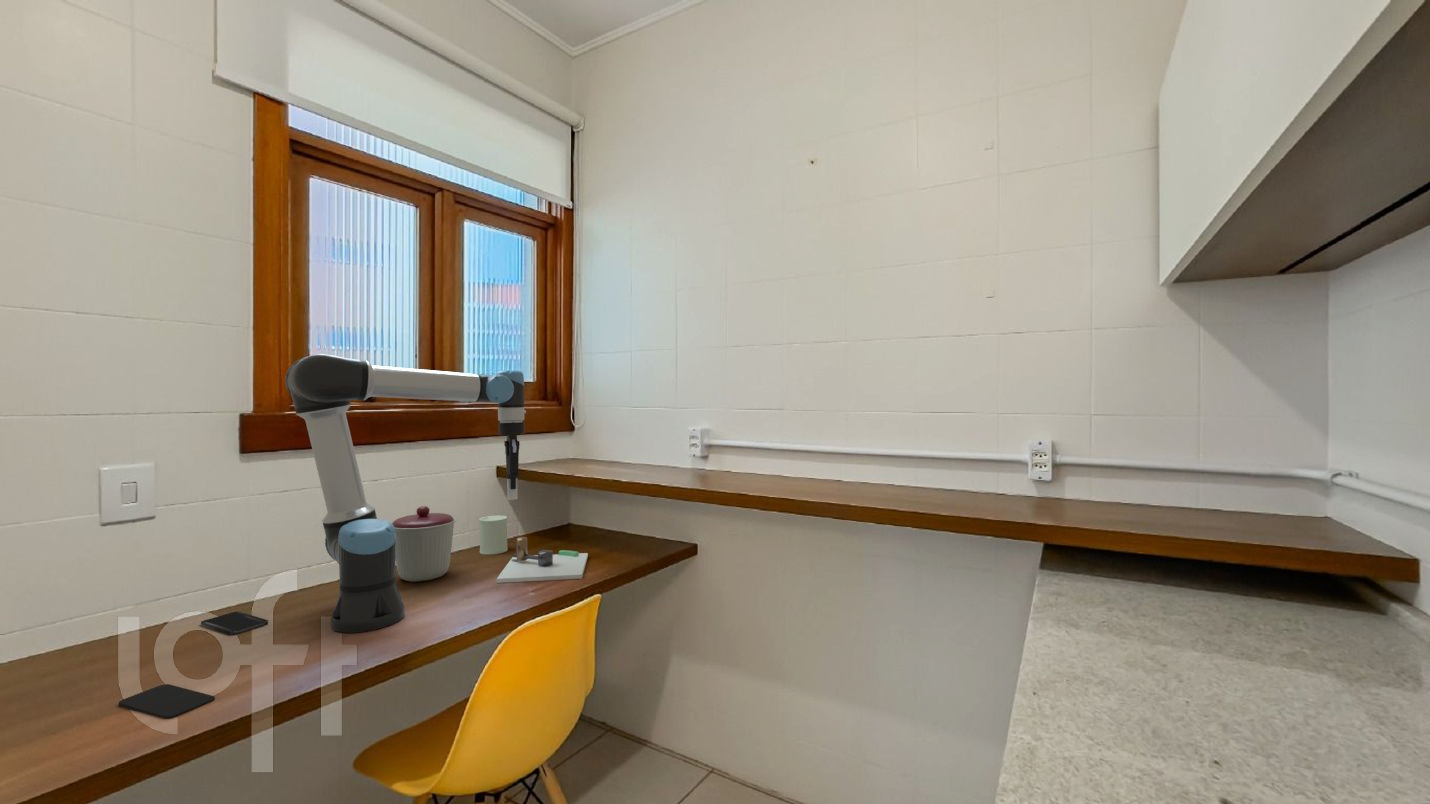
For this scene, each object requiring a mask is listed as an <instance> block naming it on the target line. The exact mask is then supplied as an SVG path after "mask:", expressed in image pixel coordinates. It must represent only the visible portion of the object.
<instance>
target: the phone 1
mask: <svg viewBox="0 0 1430 804" xmlns="http://www.w3.org/2000/svg"><path fill="white" fill-rule="evenodd" d="M215 698H216V697H215V695H211V694H207V693H204V692H200V691H196V690H193V689H188V688H185V687H180V686H177V685H174V684H169V683H166V684H165V683H163V684H160V685H158V686H154V687H151V688H150V689H147V690H143V691H142V692H141V691H140V692H139V693H136V694H133V695H130V696H128V697H126V698H122V699H121V700H120V701H118V707H121V708H124V709H126V710H127V709H128V710H132V711H135V712H137V713H142V714H146V715H148V716H152V717H156V718H160V719H163V720H171V719H174V718H178V717H180V716H182V715H185V714H186V713H188V712H191V711H194V710H196V709H198V708H201V707H203V706H205V705H207V704H210V703H212V702H214V701H215V700H216V699H215Z"/></svg>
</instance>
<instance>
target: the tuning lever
mask: <svg viewBox="0 0 1430 804" xmlns="http://www.w3.org/2000/svg"><path fill="white" fill-rule="evenodd" d="M553 553H554V551H553V550H551V549H542V550H540V551H538V552H537V555H538V556H534V555H533V554H528V537H526V536H520V537H517V538H516V553H514V554H512V557H517V561H525V560H527V559H534V560H538V565H539V566H549V565H552V564H553V555H554V554H553Z"/></svg>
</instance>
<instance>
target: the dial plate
mask: <svg viewBox="0 0 1430 804" xmlns="http://www.w3.org/2000/svg"><path fill="white" fill-rule="evenodd" d="M534 556H538V554H537V555H536V554H535V555H534ZM588 556H589V553H587V552H584V553H583V552H581V553H580V552H579V551H576V550H566V549H565V550H564V549H562V550H561V549H560V550H559V551H558V554H553V564H552V565H549V566H539V565H538V560H534V559H527V560H525V561H517V557H513V556H512V557H511V558H510V560H509V562H508V563H507V564H506V565H505V567H504V568H503V569H502V571H501V572H500V574H499V575H498V576H497V578H496V584H503V583H523V582H541V581H558V580H560V581H561V580H577V579H578V580H579V579H580V580H582V578H583V576H584V572H585V568H586V565H587V560H588Z"/></svg>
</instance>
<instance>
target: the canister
mask: <svg viewBox="0 0 1430 804" xmlns="http://www.w3.org/2000/svg"><path fill="white" fill-rule="evenodd" d="M415 512H416V514H411V515H405V516H402V517H398V518H397V519H395V520H393V522H391V523H392V524H393V526H394V529H395V534H396V540H395V563H396V569H397V573H398V576H399V578H400V579H401V580H403V581H406V582H426V581H431V580H435V579H438V578H440V577H442V576H444V575H445V574H446V573H447V572H448V570H449V568H450V563H451V562H450V561H451V556H452V555H451V554H452V547H453V537H454V528H455V527H454V525H455V523H456V522H457V518H456V517H455V516H452V515H450V514H447V513H443V512H442V513H440V512H430V508H429V507H428V506H427V505H425V506H423V505H422V506H418V508H416V511H415Z"/></svg>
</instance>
